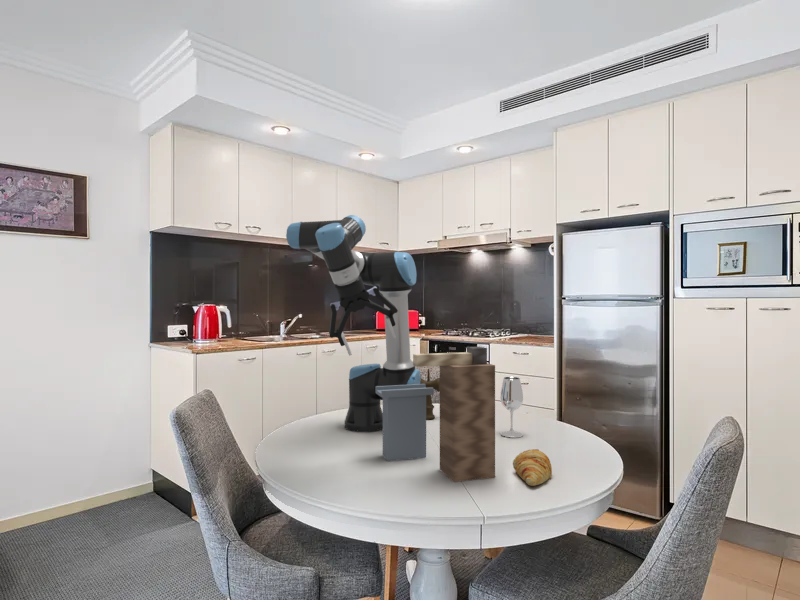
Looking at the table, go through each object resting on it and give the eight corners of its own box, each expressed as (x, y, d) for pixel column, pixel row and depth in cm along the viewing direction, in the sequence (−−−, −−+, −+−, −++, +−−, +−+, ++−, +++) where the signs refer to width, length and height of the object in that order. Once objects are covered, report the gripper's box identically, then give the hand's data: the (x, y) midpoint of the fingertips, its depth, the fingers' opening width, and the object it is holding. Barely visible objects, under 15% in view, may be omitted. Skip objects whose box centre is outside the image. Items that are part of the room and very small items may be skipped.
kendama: (417, 416, 202) (417, 367, 202) (441, 417, 200) (441, 367, 200) (415, 419, 196) (415, 369, 196) (439, 420, 194) (439, 369, 194)
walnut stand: (453, 481, 129) (453, 367, 129) (439, 469, 139) (439, 362, 139) (495, 477, 133) (495, 365, 133) (478, 465, 142) (478, 360, 142)
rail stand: (382, 462, 144) (382, 390, 144) (375, 454, 152) (375, 386, 152) (433, 457, 149) (433, 388, 149) (424, 450, 157) (424, 383, 157)
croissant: (544, 504, 124) (559, 477, 123) (507, 482, 126) (522, 456, 125) (542, 473, 144) (555, 450, 143) (511, 455, 146) (524, 432, 145)
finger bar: (417, 367, 129) (417, 350, 129) (412, 365, 134) (412, 348, 134) (486, 364, 135) (486, 348, 135) (479, 362, 139) (479, 346, 139)
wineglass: (521, 432, 178) (521, 376, 177) (524, 438, 170) (524, 380, 170) (499, 431, 178) (499, 376, 178) (501, 437, 171) (501, 379, 170)
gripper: (304, 301, 130) (332, 366, 138) (392, 267, 132) (415, 334, 141) (303, 291, 137) (330, 354, 145) (387, 259, 139) (409, 323, 147)
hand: (372, 344), depth 143 cm, fingers open, 13 cm apart
